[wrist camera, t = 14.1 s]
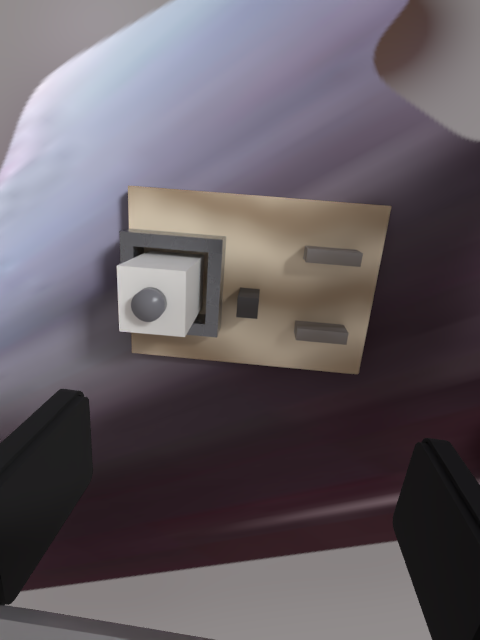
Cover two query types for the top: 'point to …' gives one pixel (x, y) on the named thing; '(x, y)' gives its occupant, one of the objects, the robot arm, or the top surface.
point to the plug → (160, 293)
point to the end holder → (214, 245)
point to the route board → (275, 276)
